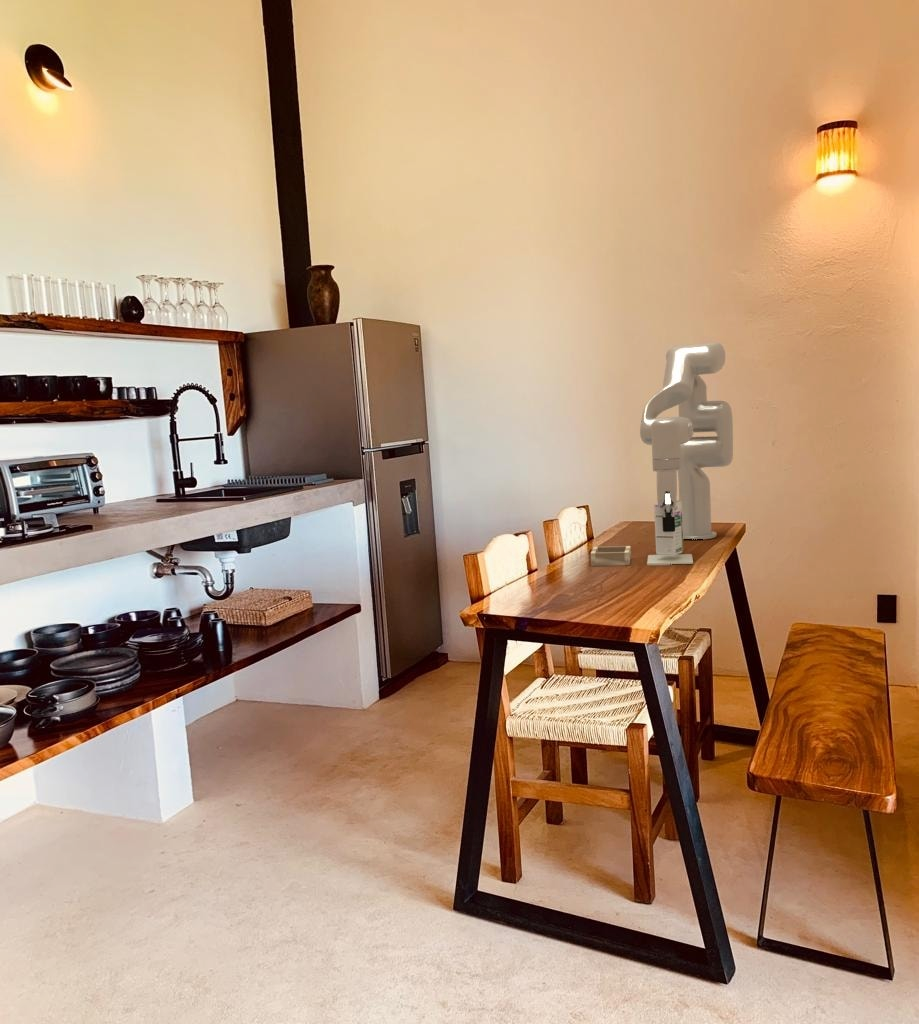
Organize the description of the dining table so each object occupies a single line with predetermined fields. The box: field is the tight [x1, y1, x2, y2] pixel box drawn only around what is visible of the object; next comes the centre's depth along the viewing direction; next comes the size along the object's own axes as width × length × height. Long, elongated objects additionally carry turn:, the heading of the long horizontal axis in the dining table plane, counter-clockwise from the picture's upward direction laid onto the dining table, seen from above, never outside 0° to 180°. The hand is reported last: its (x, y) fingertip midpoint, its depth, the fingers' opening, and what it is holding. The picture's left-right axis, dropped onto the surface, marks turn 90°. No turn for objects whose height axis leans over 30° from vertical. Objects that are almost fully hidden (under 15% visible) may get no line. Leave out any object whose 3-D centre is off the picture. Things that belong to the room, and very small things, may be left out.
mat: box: [646, 553, 694, 566], centre depth 236 cm, size 12×12×1 cm
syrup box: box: [653, 500, 684, 556], centre depth 235 cm, size 6×6×14 cm
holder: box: [590, 545, 632, 567], centre depth 239 cm, size 10×10×4 cm
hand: (669, 528), depth 235 cm, fingers closed on syrup box, 7 cm apart
